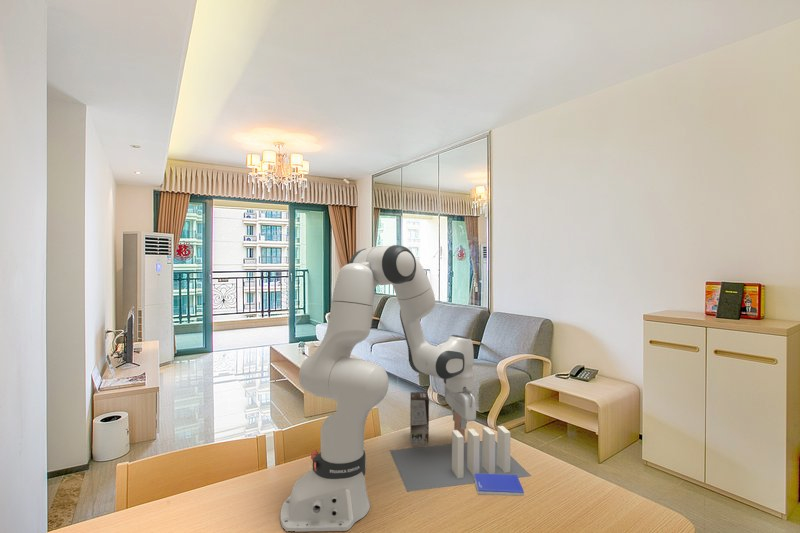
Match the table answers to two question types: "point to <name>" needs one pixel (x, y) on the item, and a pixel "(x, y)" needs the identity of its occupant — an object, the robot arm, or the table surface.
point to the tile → (458, 424)
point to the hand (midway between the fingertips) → (459, 424)
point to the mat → (441, 467)
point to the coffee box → (419, 418)
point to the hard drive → (498, 484)
